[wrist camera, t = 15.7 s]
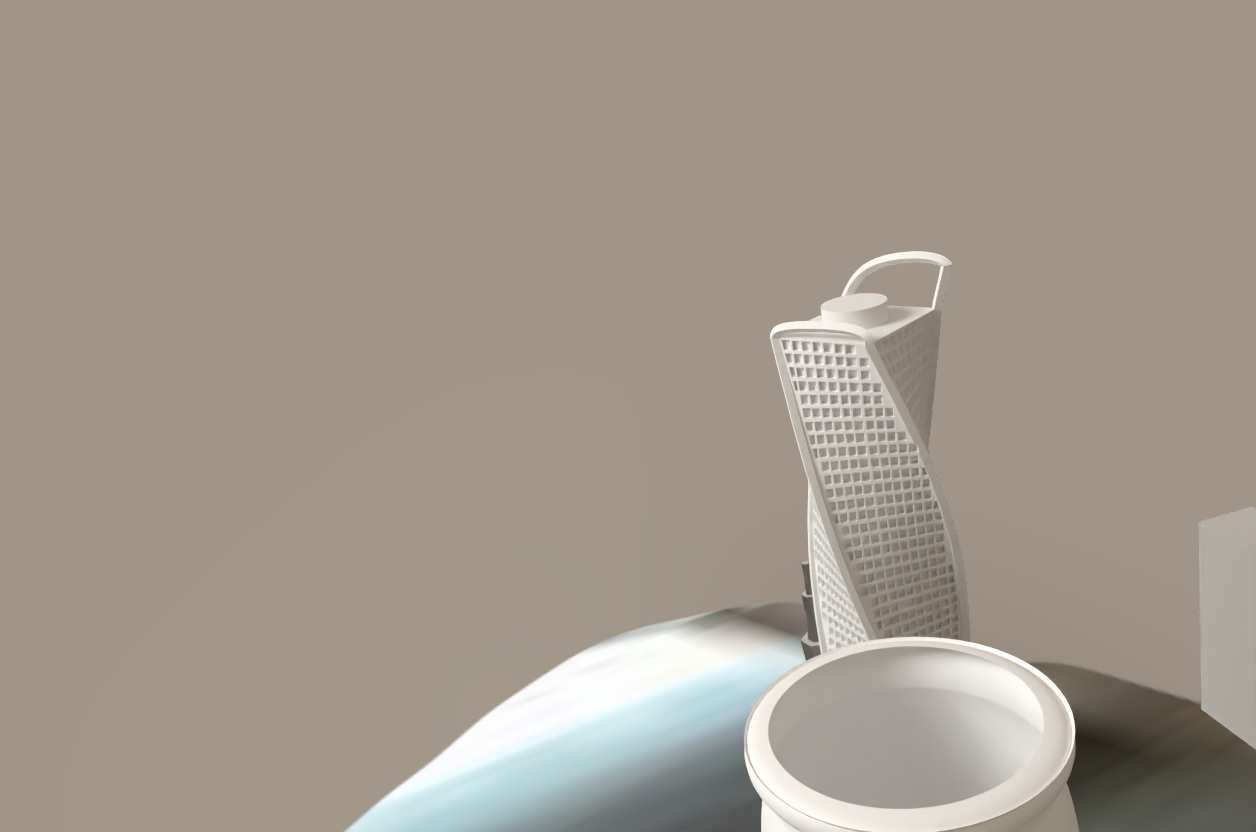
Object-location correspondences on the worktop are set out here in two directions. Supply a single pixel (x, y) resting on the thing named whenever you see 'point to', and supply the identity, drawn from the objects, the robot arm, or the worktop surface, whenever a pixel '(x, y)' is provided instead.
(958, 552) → the skyscraper
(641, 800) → the worktop surface
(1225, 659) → the robot arm
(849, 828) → the jar
